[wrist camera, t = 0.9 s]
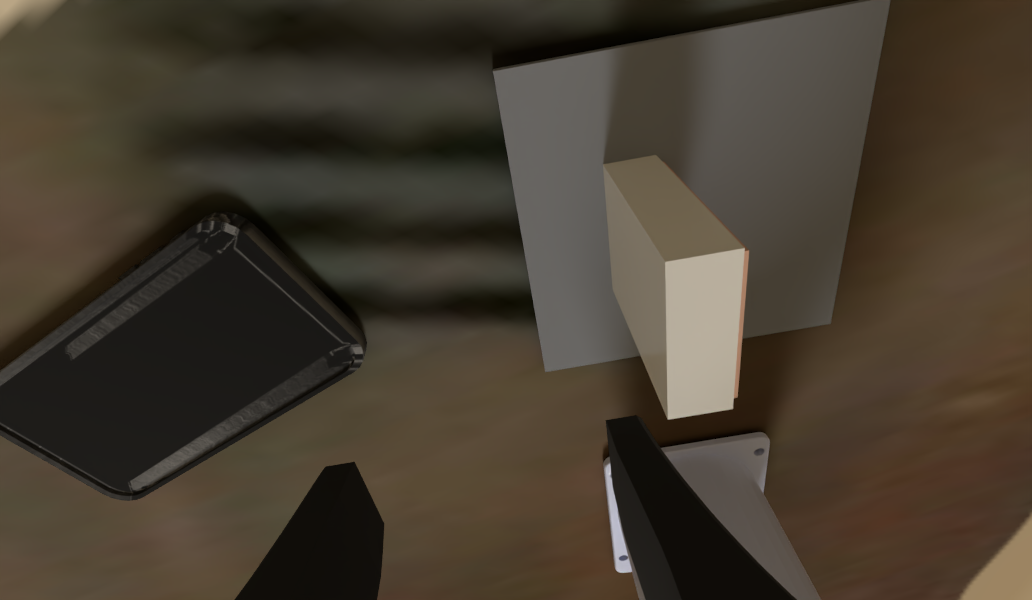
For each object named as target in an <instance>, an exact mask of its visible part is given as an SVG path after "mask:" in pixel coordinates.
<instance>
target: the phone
mask: <svg viewBox="0 0 1032 600" xmlns="http://www.w3.org/2000/svg"><path fill="white" fill-rule="evenodd" d="M140 263H141V265H140V266H138V265H137V264H136V265H134V266H133V267H132V268H130V269H129V270H128V271H127V272H125V273H124V274H123V275H121V276H120V277H119V279H120V281H118V282H117V283H116V284H114V285H113V286H112V287H110V288H109V289H108V290H106V291H105V292H104V293H102V294H101V295H100V296H98V297H97V298H96V299H94V300H93V301H92V302H90V303H89V304H88V305H86V306H85V307H84V308H82V309H81V310H80V311H78V312H77V313H76V314H74V315H73V316H72V317H70V318H69V319H68V320H67V321H65V322H64V323H63V324H61V325H60V326H59V327H57V328H56V329H55V330H53V331H52V332H51V333H49V334H48V335H47V336H45V337H44V338H43V339H41V340H40V341H39V342H37V343H36V344H35V345H33V346H32V347H31V348H29V349H28V350H27V351H25V352H24V353H23V354H21V355H20V356H19V357H17V358H16V359H15V360H13V361H12V362H11V363H9V364H8V365H7V366H5V367H4V368H3V369H1V370H0V436H2V437H4V438H6V439H7V440H9V441H11V442H13V443H14V444H16V445H18V446H20V447H21V448H23V449H25V450H27V451H29V452H30V453H32V454H34V455H36V456H37V457H39V458H41V459H43V460H44V461H46V462H48V463H50V464H51V465H53V466H55V467H57V468H58V469H60V470H62V471H64V472H65V473H67V474H69V475H71V476H72V477H74V478H76V479H78V480H79V481H81V482H83V483H85V484H86V485H88V486H90V487H92V488H93V489H95V490H97V491H99V492H100V493H102V494H104V495H106V496H109V497H111V498H114V499H118V500H127V501H130V500H137V499H140V498H142V497H144V496H146V495H148V494H149V493H151V492H153V491H154V490H156V489H158V488H159V487H161V486H163V485H164V484H166V483H168V482H169V481H171V480H173V479H175V478H176V477H178V476H180V475H181V474H183V473H185V472H186V471H188V470H190V469H191V468H193V467H195V466H196V465H198V464H200V463H201V462H203V461H205V460H207V459H208V458H210V457H212V456H213V455H215V454H217V453H218V452H220V451H222V450H223V449H225V448H227V447H228V446H230V445H232V444H234V443H235V442H237V441H239V440H240V439H242V438H244V437H245V436H247V435H249V434H250V433H252V432H254V431H255V430H257V429H259V428H260V427H262V426H264V425H266V424H267V423H269V422H271V421H272V420H274V419H276V418H277V417H279V416H281V415H282V414H284V413H286V412H287V411H289V410H291V409H293V408H294V407H296V406H298V405H299V404H301V403H303V402H304V401H306V400H308V399H309V398H311V397H313V396H314V395H316V394H318V393H320V392H321V391H323V390H325V389H326V388H328V387H330V386H331V385H333V384H335V383H336V382H338V381H340V380H341V379H343V378H345V377H346V376H348V375H350V374H352V373H353V372H355V371H356V370H357V369H358V368H359V367H360V366H361V364H362V362H363V359H364V356H365V352H366V346H367V342H366V338H365V335H364V334H363V333H362V331H361V330H360V329H359V328H358V327H357V326H356V325H355V324H354V323H353V322H352V321H351V320H350V319H349V318H348V317H347V316H346V315H345V314H344V313H343V312H342V311H341V310H340V309H339V308H338V307H337V306H336V305H335V304H334V303H333V302H332V301H331V300H330V299H329V298H328V297H327V296H326V295H325V294H324V293H323V292H322V291H321V290H320V289H319V288H318V287H317V286H316V285H315V284H314V283H313V282H312V281H311V280H310V279H309V278H308V277H307V276H306V275H305V274H304V273H303V272H302V271H301V270H300V269H299V268H298V267H297V266H296V265H295V264H294V263H293V262H292V261H291V260H290V259H289V258H288V257H287V256H285V255H284V254H283V253H282V252H281V251H280V250H279V249H278V248H277V247H276V246H275V245H274V244H273V243H272V242H271V241H270V240H269V239H268V238H267V237H266V236H265V235H264V234H263V233H262V232H261V231H260V230H259V229H258V228H257V227H256V226H255V225H254V224H253V223H251V222H250V221H249V220H247V219H246V218H244V217H242V216H240V215H237V214H235V213H230V212H215V213H212V214H209V215H207V216H205V217H204V218H202V219H201V220H200V221H198V222H197V223H196V224H194V225H193V226H192V227H190V228H189V229H188V230H186V231H185V232H184V231H181V232H180V233H179V234H177V235H176V236H175V237H173V238H172V239H171V240H170V243H169V244H168V245H166V246H165V247H164V248H161V247H159V248H158V249H157V250H155V251H154V252H153V253H151V254H150V255H149V256H147V257H146V258H145V259H143V260H142V261H141V262H140Z"/></svg>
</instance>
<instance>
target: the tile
mask: <svg viewBox="0 0 1032 600" xmlns="http://www.w3.org/2000/svg"><path fill="white" fill-rule="evenodd" d="M603 172H604V185H605V198H606V211H607V223H608V236H609V249H610V262H611V274H612V287H613V292H614V294H615V296H616V299H617V301H618V303H619V306H620V308H621V310H622V313H623V315H624V318H625V320H626V322H627V325H628V327H629V329H630V332H631V334H632V336H633V339H634V341H635V344H636V346H637V348H638V351H639V353H640V355H641V358H642V360H643V362H644V365H645V367H646V370H647V372H648V374H649V377H650V379H651V381H652V384H653V386H654V388H655V391H656V393H657V396H658V398H659V400H660V403H661V405H662V407H663V410H664V412H665V414H666V417H667V419H668V420H669V419H675V418H682V417H688V416H694V415H700V414H706V413H712V412H718V411H724V410H730V409H733V402H734V398H738V387H739V374H740V361H741V348H742V336H743V323H744V310H745V298H746V285H747V272H748V259H749V250H748V249H747V248H746V247H745V245H744V244H743V243H742V242H741V241H740V240H739V239H738V238H737V237H736V236H735V235H734V234H733V233H732V232H731V231H730V230H729V229H728V228H727V227H726V226H725V225H724V224H723V223H722V222H721V220H720V219H719V218H718V217H717V216H716V215H715V214H714V213H713V212H712V211H711V210H710V209H709V208H708V207H707V206H706V205H705V204H704V203H703V202H702V201H701V200H700V199H699V198H698V196H697V195H696V194H695V193H694V192H693V191H692V190H691V189H690V188H689V187H688V186H687V185H686V184H685V183H684V182H683V181H682V180H681V179H680V178H679V177H678V176H677V175H676V174H675V173H674V171H673V170H672V169H671V168H670V167H669V166H668V165H667V164H666V163H665V162H664V161H663V162H662V161H661V160H660V158H659V157H658V156H657V155H652V156H647V157H641V158H636V159H630V160H625V161H619V162H614V163H608V164H603Z"/></svg>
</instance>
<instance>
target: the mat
mask: <svg viewBox="0 0 1032 600" xmlns="http://www.w3.org/2000/svg"><path fill="white" fill-rule="evenodd" d="M890 1H891V0H858V1H853V2H848V3H842V4H837V5H832V6H826V7H821V8H816V9H810V10H805V11H800V12H795V13H789V14H784V15H779V16H773V17H768V18H763V19H757V20H752V21H747V22H741V23H736V24H731V25H725V26H720V27H715V28H709V29H704V30H699V31H693V32H688V33H683V34H677V35H672V36H667V37H661V38H656V39H651V40H645V41H640V42H635V43H629V44H624V45H619V46H613V47H608V48H603V49H598V50H592V51H587V52H582V53H576V54H571V55H566V56H560V57H555V58H550V59H544V60H539V61H534V62H528V63H523V64H518V65H512V66H507V67H502V68H496V69H493V74H494V80H495V85H496V91H497V97H498V103H499V108H500V114H501V120H502V126H503V131H504V137H505V143H506V149H507V154H508V160H509V166H510V171H511V177H512V183H513V189H514V194H515V200H516V206H517V212H518V217H519V223H520V229H521V235H522V240H523V246H524V252H525V258H526V263H527V269H528V275H529V281H530V286H531V292H532V298H533V303H534V309H535V315H536V321H537V326H538V332H539V338H540V344H541V349H542V355H543V361H544V367H545V372H548V371H554V370H560V369H566V368H572V367H578V366H584V365H590V364H596V363H601V362H607V361H613V360H619V359H625V358H631V357H637V356H641V355H640V353H639V351H638V348H637V346H636V344H635V341H634V339H633V336H632V334H631V332H630V329H629V327H628V325H627V322H626V320H625V318H624V315H623V313H622V310H621V308H620V306H619V303H618V301H617V299H616V296H615V294H614V292H613V287H612V274H611V262H610V249H609V236H608V223H607V211H606V198H605V185H604V172H603V164H608V163H614V162H619V161H625V160H630V159H636V158H641V157H647V156H652V155H657V156H658V157H659V158H660V160H661V161H662V162H663V161H664V162H665V163H666V164H667V165H668V166H669V167H670V168H671V169H672V170H673V171H674V173H675V174H676V175H677V176H678V177H679V178H680V179H681V180H682V181H683V182H684V183H685V184H686V185H687V186H688V187H689V188H690V189H691V190H692V191H693V192H694V193H695V194H696V195H697V196H698V198H699V199H700V200H701V201H702V202H703V203H704V204H705V205H706V206H707V207H708V208H709V209H710V210H711V211H712V212H713V213H714V214H715V215H716V216H717V217H718V218H719V219H720V220H721V222H722V223H723V224H724V225H725V226H726V227H727V228H728V229H729V230H730V231H731V232H732V233H733V234H734V235H735V236H736V237H737V238H738V239H739V240H740V241H741V242H742V243H743V244H744V245H745V247H746V248H747V249H748V250H749V259H748V272H747V285H746V298H745V310H744V323H743V336H742V339H744V338H750V337H755V336H761V335H767V334H773V333H779V332H785V331H791V330H797V329H803V328H809V327H815V326H821V325H827V324H831V319H832V314H833V308H834V303H835V297H836V292H837V287H838V281H839V276H840V270H841V265H842V260H843V254H844V249H845V244H846V238H847V233H848V227H849V222H850V217H851V211H852V206H853V200H854V195H855V190H856V184H857V179H858V173H859V168H860V163H861V157H862V152H863V147H864V141H865V136H866V130H867V125H868V120H869V114H870V109H871V103H872V98H873V93H874V87H875V82H876V76H877V71H878V66H879V60H880V55H881V49H882V44H883V39H884V33H885V28H886V23H887V17H888V12H889V6H890Z"/></svg>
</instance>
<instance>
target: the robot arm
mask: <svg viewBox="0 0 1032 600" xmlns="http://www.w3.org/2000/svg"><path fill="white" fill-rule="evenodd" d="M606 427H607V436H608V446H609V456H610V457H608V458H606V459H605V461H604V463H603V467H604V476H605V485H606V494H607V503H608V512H609V521H610V529H611V538H612V547H613V556H614V564H615V569H616V571H618V572H620V573H627V572H632V573H633V577H634V581H635V585H636V589H637V592H638V596H639V600H821V598H820V597H819V595H818V593H817V591H816V589H815V587H814V586H813V584H812V582H811V580H810V578H809V576H808V575H807V573H806V571H805V569H804V567H803V565H802V564H801V562H800V560H799V558H798V556H797V554H796V553H795V551H794V549H793V547H792V545H791V543H790V542H789V540H788V538H787V536H786V534H785V532H784V531H783V529H782V527H781V525H780V523H779V521H778V520H777V518H776V516H775V514H774V512H773V510H772V509H771V507H770V505H769V503H768V501H767V499H766V498H765V496H764V494H763V493H764V485H765V477H766V470H767V462H768V454H769V447H770V440H769V438H768V436H767V435H766V434H765V433H763V432H755V433H749V434H743V435H737V436H731V437H724V438H718V439H712V440H706V441H700V442H694V443H688V444H682V445H675V446H669V447H663V448H660V446H659V445H658V443H657V442H656V441H655V439H654V438H653V436H652V435H651V433H650V431H649V430H648V428H647V427H646V425H645V423H644V422H643V420H642V419H641V418H640V417H638V416H636V415H635V416H629V417H623V418H617V419H611V420H606ZM383 536H384V522H383V520H382V518H381V516H380V514H379V512H378V510H377V508H376V506H375V504H374V502H373V499H372V497H371V495H370V493H369V491H368V489H367V487H366V485H365V483H364V481H363V479H362V477H361V474H360V472H359V470H358V468H357V466H356V464H355V462H351V463H345V464H339V465H333V466H327V467H325V468H324V469H323V471H322V472H321V474H320V475H319V477H318V478H317V480H316V481H315V483H314V484H313V486H312V487H311V489H310V490H309V492H308V493H307V495H306V496H305V498H304V500H303V501H302V503H301V504H300V506H299V507H298V509H297V510H296V512H295V513H294V515H293V516H292V518H291V519H290V521H289V522H288V524H287V525H286V527H285V528H284V530H283V532H282V533H281V535H280V536H279V537H278V539H277V540H276V542H275V543H274V545H273V546H272V548H271V549H270V551H269V552H268V554H267V555H266V556H265V558H264V559H263V561H262V562H261V564H260V565H259V567H258V568H257V570H256V571H255V572H254V574H253V575H252V577H251V578H250V579H249V581H248V582H247V584H246V585H245V586H244V588H243V589H242V590H241V592H240V593H239V594H238V596H237V597H236V598H235V600H377V596H378V590H379V584H380V578H381V568H382V555H383Z"/></svg>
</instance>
